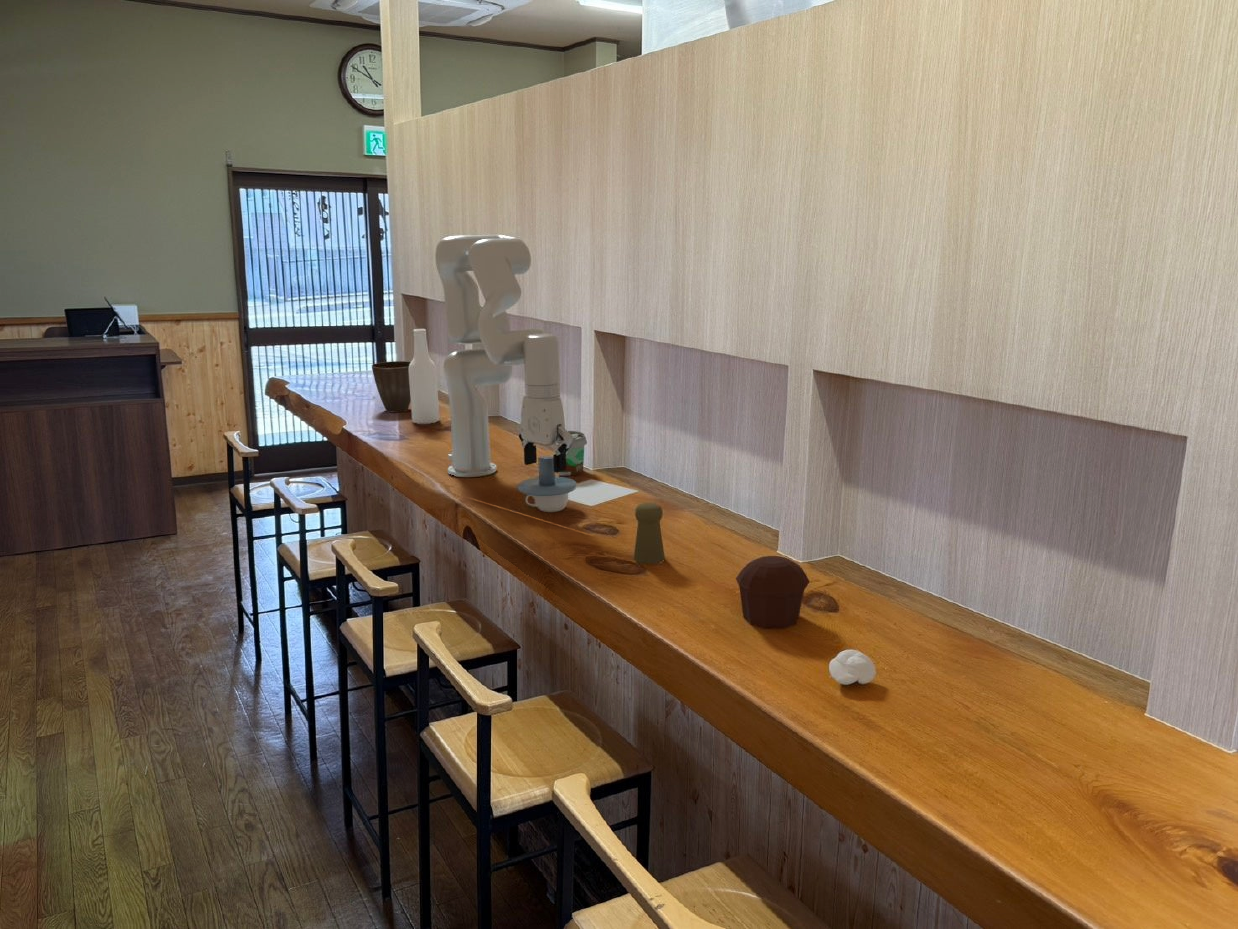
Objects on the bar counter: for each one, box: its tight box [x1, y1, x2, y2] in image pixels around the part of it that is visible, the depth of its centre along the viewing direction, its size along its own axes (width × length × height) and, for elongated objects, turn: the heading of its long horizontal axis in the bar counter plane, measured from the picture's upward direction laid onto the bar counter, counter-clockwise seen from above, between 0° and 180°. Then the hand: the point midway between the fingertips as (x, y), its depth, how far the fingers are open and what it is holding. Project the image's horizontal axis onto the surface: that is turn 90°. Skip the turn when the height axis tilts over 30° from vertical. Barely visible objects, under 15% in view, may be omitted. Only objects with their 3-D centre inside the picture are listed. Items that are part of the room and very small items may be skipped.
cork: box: [633, 502, 666, 565], centre depth 179 cm, size 6×6×11 cm
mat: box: [568, 478, 640, 507], centre depth 224 cm, size 16×16×1 cm
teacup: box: [525, 493, 569, 513], centre depth 211 cm, size 10×8×5 cm
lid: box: [517, 455, 577, 496], centre depth 209 cm, size 13×13×7 cm
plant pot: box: [371, 360, 411, 412], centre depth 325 cm, size 15×15×16 cm
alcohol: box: [409, 328, 440, 425], centre depth 303 cm, size 9×9×30 cm
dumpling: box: [828, 649, 877, 686], centre depth 131 cm, size 7×5×4 cm
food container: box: [557, 430, 588, 478], centre depth 240 cm, size 12×6×10 cm, turn 168°
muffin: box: [735, 555, 810, 630], centre depth 152 cm, size 12×11×10 cm
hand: (545, 467), depth 209 cm, fingers open, 9 cm apart
